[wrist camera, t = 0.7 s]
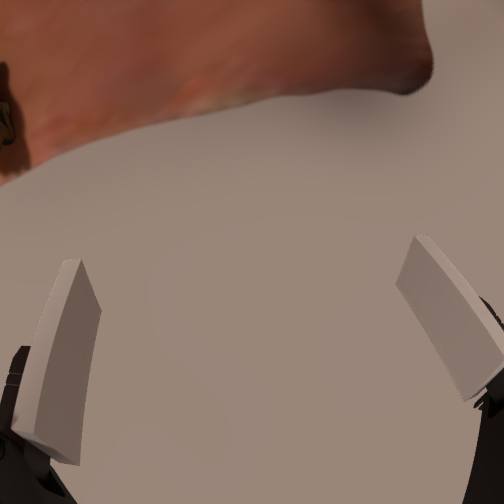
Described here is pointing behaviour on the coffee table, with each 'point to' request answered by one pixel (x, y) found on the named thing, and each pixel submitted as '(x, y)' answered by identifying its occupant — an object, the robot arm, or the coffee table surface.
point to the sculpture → (5, 125)
